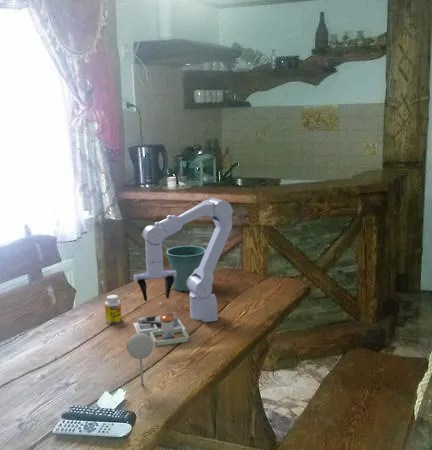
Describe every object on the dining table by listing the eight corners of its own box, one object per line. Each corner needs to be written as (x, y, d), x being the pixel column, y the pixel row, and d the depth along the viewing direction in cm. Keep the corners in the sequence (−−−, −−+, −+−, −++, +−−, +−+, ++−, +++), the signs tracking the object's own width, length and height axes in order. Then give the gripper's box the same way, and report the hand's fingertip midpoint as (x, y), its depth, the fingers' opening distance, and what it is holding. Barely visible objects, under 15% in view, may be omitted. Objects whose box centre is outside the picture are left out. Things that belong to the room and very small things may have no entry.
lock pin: (170, 335, 202) (168, 312, 200) (177, 339, 198) (176, 316, 197) (158, 339, 199) (157, 316, 197) (166, 343, 195) (164, 319, 194)
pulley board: (177, 320, 217) (177, 309, 216) (185, 332, 206) (185, 321, 205) (133, 326, 212) (132, 315, 212) (139, 338, 201) (138, 327, 200)
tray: (182, 334, 204) (182, 327, 204) (189, 344, 195) (189, 337, 195) (150, 338, 201) (149, 331, 200) (155, 349, 192) (155, 342, 192)
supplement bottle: (110, 327, 212) (108, 300, 210) (103, 323, 216) (101, 296, 214) (124, 324, 215) (122, 296, 213) (118, 319, 219) (116, 292, 217)
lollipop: (130, 379, 172) (126, 329, 169) (155, 377, 173) (152, 328, 170) (128, 391, 165) (125, 339, 162) (154, 389, 166) (152, 337, 163)
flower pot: (206, 293, 246) (205, 255, 243) (166, 294, 247) (164, 256, 243) (207, 281, 262) (206, 245, 259) (169, 282, 263) (168, 246, 259)
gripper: (172, 255, 212) (174, 292, 215) (131, 260, 208) (133, 297, 211) (177, 260, 205) (178, 298, 208) (134, 265, 201) (137, 304, 204)
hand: (156, 298), depth 209 cm, fingers open, 7 cm apart
